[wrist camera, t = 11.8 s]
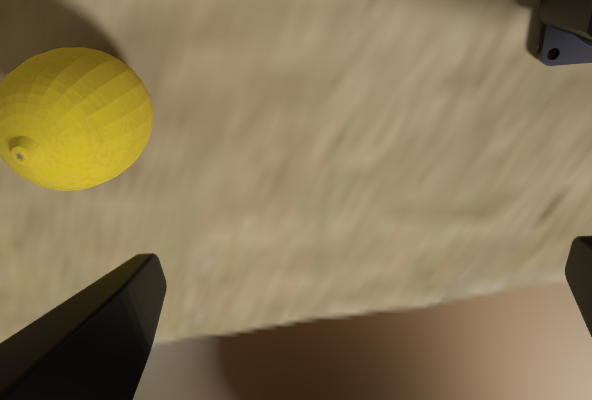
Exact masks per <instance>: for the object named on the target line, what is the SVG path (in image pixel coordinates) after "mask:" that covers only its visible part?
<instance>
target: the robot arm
mask: <svg viewBox="0 0 592 400" xmlns="http://www.w3.org/2000/svg"><path fill="white" fill-rule="evenodd" d="M539 19H540V20H541V21H542V22H543V25H542V31H541V36H540V42H539V48H538V59H539V61H540V62H542V63H543V64H545V65H549V66H555V65H567V64H580V63H592V0H542V2H541V8H540V13H539ZM553 48H555V51H556V52H555V54H554V55H553V56H552V57H551V58H547V54H548V52H549V51H550V50H551V49H553ZM565 276H566V279H567V282H568V284H569V286H570V289H571V291H572V293H573V296H574V298H575V300H576V303H577V305H578V307H579V309H580V312H581V314H582V316H583V318H584V321H585V323H586V326H587V328H588V330H589V332H590V334H591V337H592V236H578V237H576V238H575V239H574V240H573V242H572V245H571V248H570V252H569V256H568V259H567V263H566V267H565ZM165 294H166V279H165V276H164V273H163V270H162V267H161V264H160V261H159V258H158V256H157V255H156V254H153V253H150V254H137V255H136V256H134V257H132V258H131V259H129V260H128V261H126V262H125V263H123V264H122V265H120V266H119V267H117V268H116V269H114V270H112V271H111V272H109V273H108V274H106V275H105V276H103V277H102V278H100V279H99V280H97V281H96V282H94V283H92V284H91V285H89V286H88V287H86V288H85V289H83V290H82V291H80V292H79V293H77V294H76V295H74V296H72V297H71V298H69V299H68V300H66V301H65V302H63V303H62V304H60V305H59V306H57V307H56V308H54V309H52V310H51V311H49V312H48V313H46V314H45V315H43V316H42V317H40V318H39V319H37V320H36V321H34V322H32V323H31V324H29V325H28V326H26V327H25V328H23V329H22V330H20V331H19V332H17V333H16V334H14V335H12V336H11V337H9V338H8V339H6V340H5V341H3V342H2V343H0V400H133V397H134V394H135V392H136V389H137V387H138V384H139V381H140V379H141V376H142V373H143V371H144V368H145V365H146V363H147V360H148V357H149V354H150V351H151V348H152V344H153V341H154V337H155V333H156V329H157V325H158V321H159V317H160V313H161V309H162V305H163V301H164V297H165Z"/></svg>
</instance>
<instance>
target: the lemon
mask: <svg viewBox="0 0 592 400" xmlns="http://www.w3.org/2000/svg"><path fill="white" fill-rule="evenodd" d="M152 126H153V107H152V103H151V100H150V96H149V93H148V91H147V90H146V88H145V86H144V84H143V82H142V81H141V79H140V78H139V77H138V76H137V74H136V73H135V72H134V71H133V70H132V69H131V68H130V67H128V66H127V65H126V64H125V63H124V62H122V61H121V60H119V59H117V58H115V57H113V56H111V55H109V54H107V53H105V52H102V51H98V50H94V49H90V48H85V47H66V48H57V49H53V50H50V51H47V52H44V53H41V54H38V55H35V56H33V57H31V58H29V59H27V60H26V61H25V62H23V63H22V64H21V65H19V66H18V67H17V68H15V69H14V70H13V71H11V72H10V73H9V74H8V75H7V76H6V77H5V78H4V79H3V80H2V82H1V83H0V157H1V158H2V160H3V161H4V162H5V163H6V164H7V165H8V166H9V167H10V168H11V169H12V170H13V171H14V172H16V173H17V174H18V175H20V176H21V177H23V178H24V179H26V180H28V181H30V182H32V183H34V184H37V185H40V186H43V187H46V188H49V189H56V190H65V191H71V190H80V189H86V188H90V187H93V186H96V185H98V184H101V183H103V182H106V181H108V180H110V179H112V178H114V177H116V176H118V175H119V174H120V173H122V172H123V171H124V170H125V169H127V168H128V167H129V166H130V165H132V164H133V163H134V162H135V161H136V160H137V158H138V157H139V155H140V154H141V152H142V151H143V149H144V148H145V146H146V144H147V143H148V140H149V137H150V133H151V130H152Z"/></svg>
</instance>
